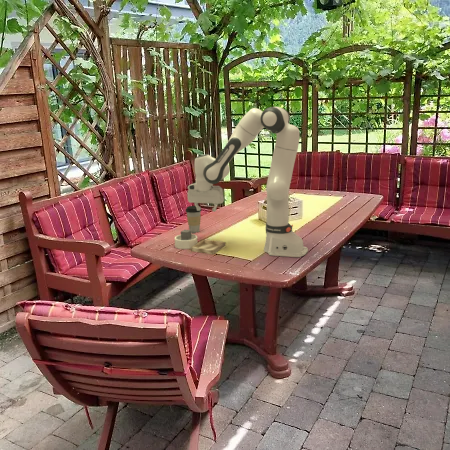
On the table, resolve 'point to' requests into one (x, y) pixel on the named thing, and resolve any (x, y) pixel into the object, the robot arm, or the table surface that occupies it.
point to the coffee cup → (193, 218)
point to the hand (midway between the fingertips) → (206, 210)
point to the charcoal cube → (186, 234)
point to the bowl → (185, 242)
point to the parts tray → (208, 246)
